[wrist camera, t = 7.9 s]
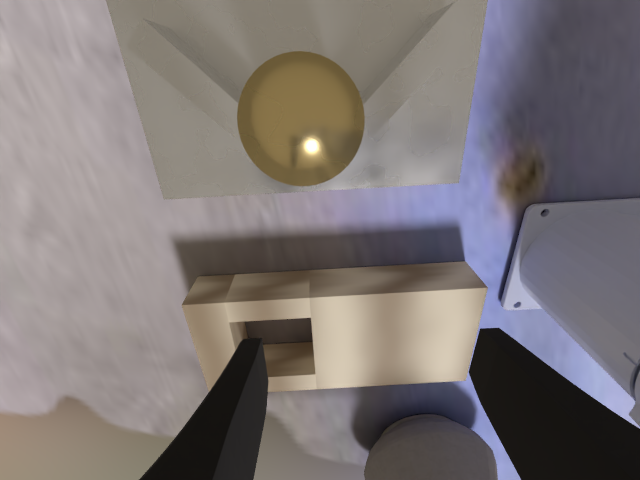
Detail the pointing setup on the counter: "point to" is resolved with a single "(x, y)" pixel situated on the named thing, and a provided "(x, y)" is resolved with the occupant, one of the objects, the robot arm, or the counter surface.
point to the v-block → (310, 36)
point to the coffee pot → (430, 452)
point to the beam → (344, 323)
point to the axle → (300, 118)
